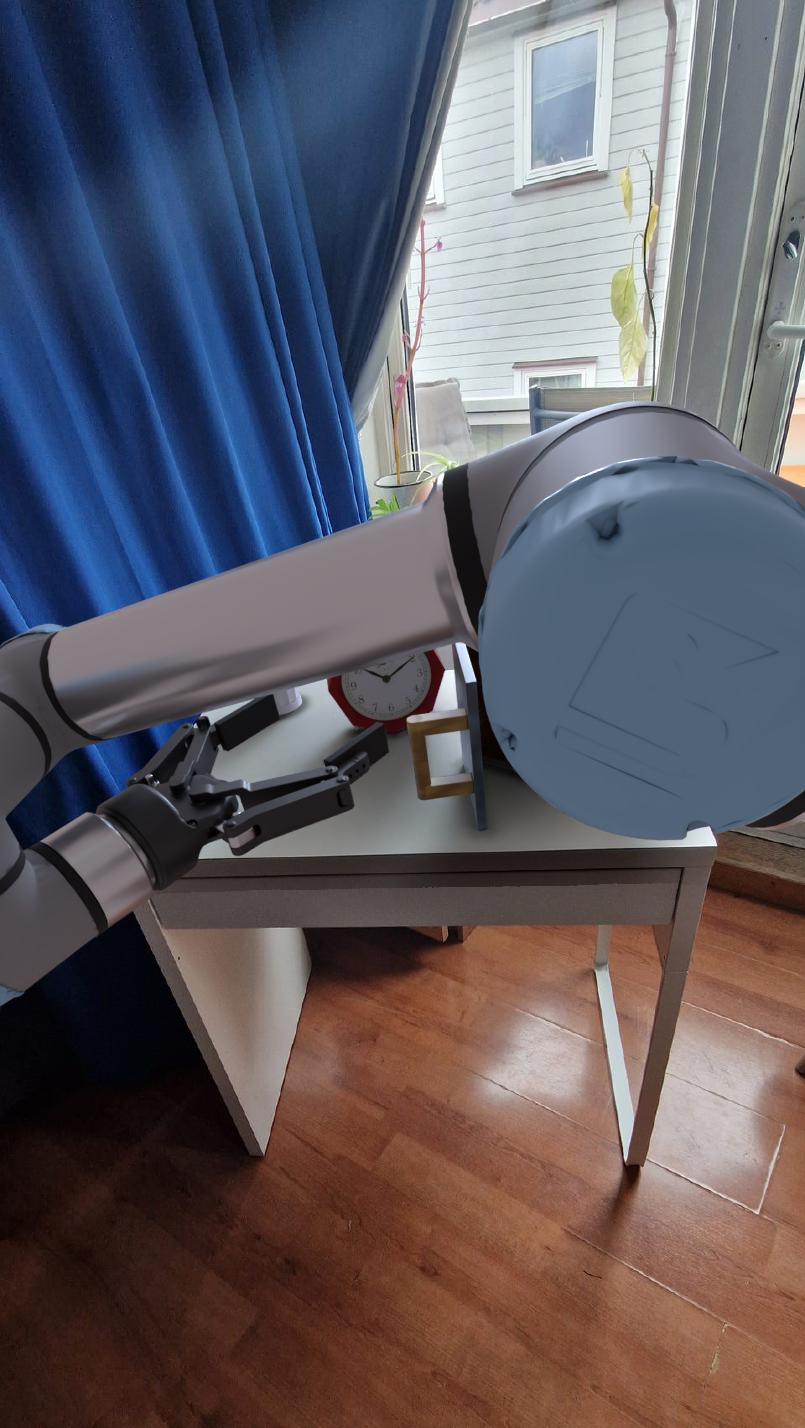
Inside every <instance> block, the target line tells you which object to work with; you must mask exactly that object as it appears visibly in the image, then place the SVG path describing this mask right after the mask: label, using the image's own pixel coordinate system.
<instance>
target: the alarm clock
mask: <svg viewBox="0 0 805 1428" xmlns="http://www.w3.org/2000/svg"><path fill="white" fill-rule="evenodd" d="M445 672H446V668H445V665H444V663H443V661H442V659H441V657H440V654H439V652H438V650H437V649H433V650H429V651H426V652H422V653H419V654H415V655H411V656H408V657H404V658H400V659H397V660H393V661H390V662H386V663H382V664H379V665H375V666H371V667H368V668H364V669H361V670H357V671H353V672H350V673H346V674H342V675H339V676H335V677H332V678H328V679H326V684H327V691H328V693H329V695H330V696H331V697H332V699H333V700H334V701H335V703H336V704H337V706H338V707H339V708H340V710H341V712H342V713H343V714H344V716H345V717H346V718H347V720H348V721H349V722H350V724H351V725H352V726H353V729H354V731H355V730H356V731H359V729H360V728H364V729H368V728H369V727H371V726H372V725H374V724H375V723H376V722H380V723H384V724H385V730H386V733H392V734H396V733H398V732H400V731H402V730H403V729H405V728H407V721H406V720H407V718H408V717H410V716H413V715H420V714H427V713H433V711H434V709H435V708H434V707H435V705H436V702H437V698H438V695H439V692H440V688H441V686H442V682H443V678H444V676H445Z"/></svg>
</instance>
